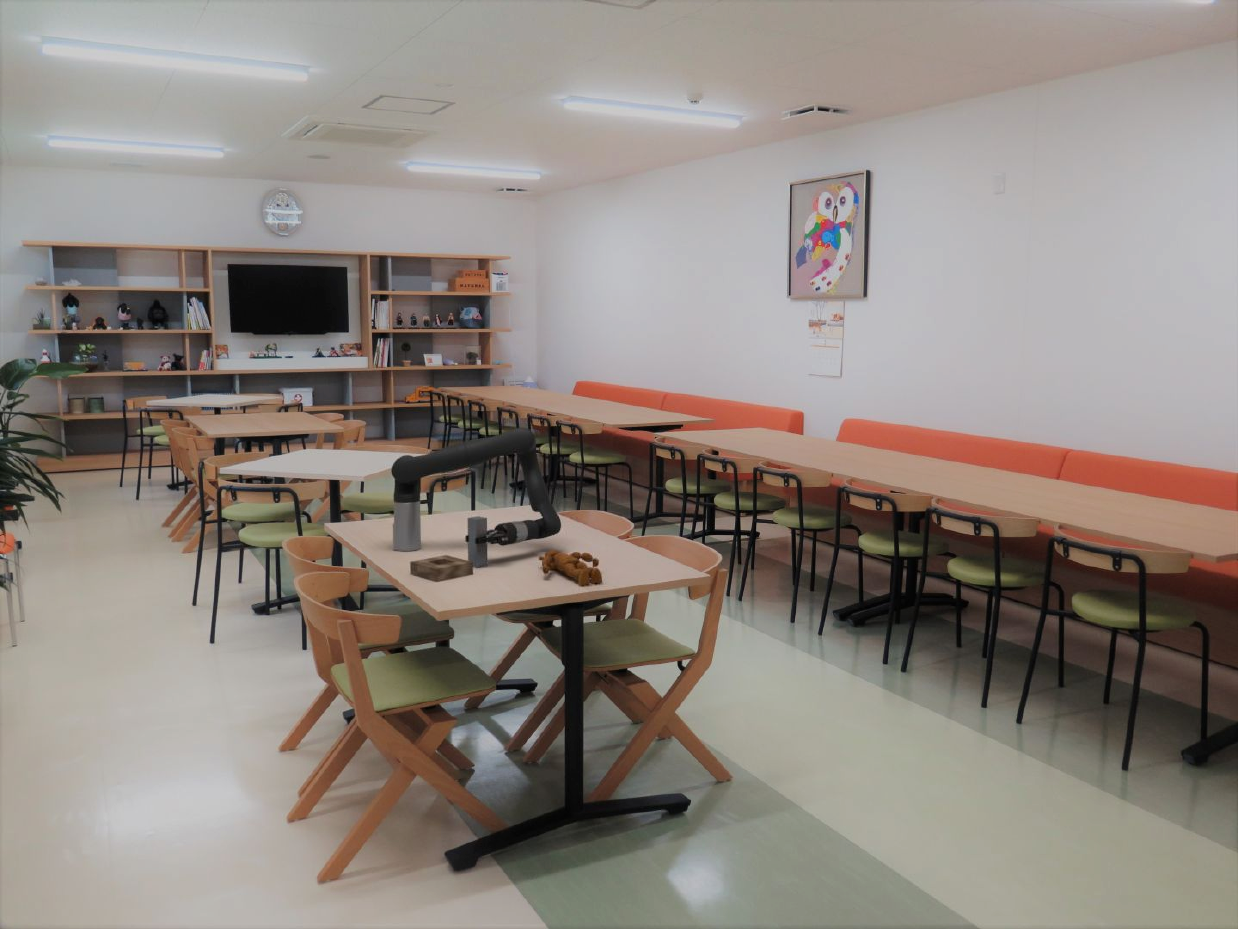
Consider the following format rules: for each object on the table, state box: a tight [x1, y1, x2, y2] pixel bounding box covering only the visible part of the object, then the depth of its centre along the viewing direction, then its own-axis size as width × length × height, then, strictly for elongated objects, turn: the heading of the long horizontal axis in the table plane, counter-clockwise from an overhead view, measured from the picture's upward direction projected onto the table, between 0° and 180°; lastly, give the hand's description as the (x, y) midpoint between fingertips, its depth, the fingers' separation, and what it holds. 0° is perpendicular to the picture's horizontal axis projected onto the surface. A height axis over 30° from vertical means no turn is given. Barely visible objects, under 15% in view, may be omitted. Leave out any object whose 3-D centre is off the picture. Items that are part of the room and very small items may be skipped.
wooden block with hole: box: [409, 554, 474, 583], centre depth 312 cm, size 14×14×4 cm
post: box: [467, 515, 488, 569], centre depth 323 cm, size 4×4×16 cm
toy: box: [538, 550, 603, 587], centre depth 312 cm, size 20×7×30 cm
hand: (471, 540), depth 321 cm, fingers closed on post, 4 cm apart
